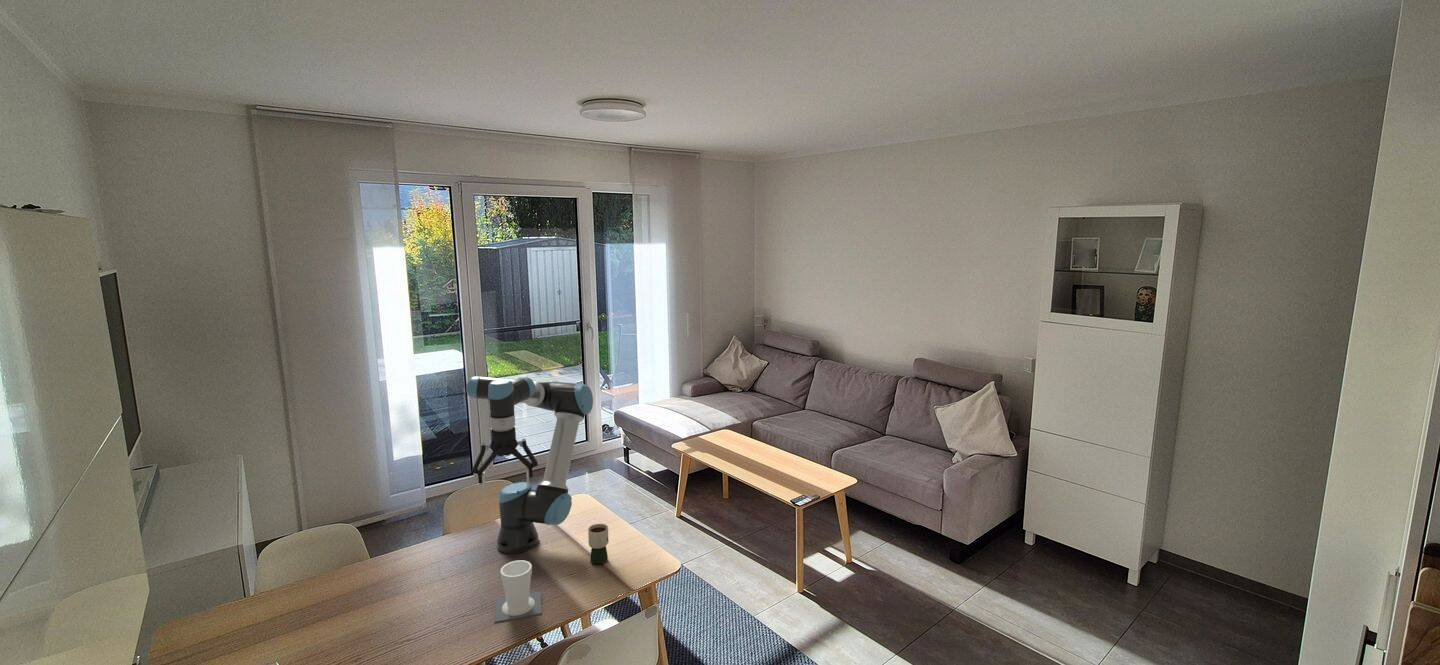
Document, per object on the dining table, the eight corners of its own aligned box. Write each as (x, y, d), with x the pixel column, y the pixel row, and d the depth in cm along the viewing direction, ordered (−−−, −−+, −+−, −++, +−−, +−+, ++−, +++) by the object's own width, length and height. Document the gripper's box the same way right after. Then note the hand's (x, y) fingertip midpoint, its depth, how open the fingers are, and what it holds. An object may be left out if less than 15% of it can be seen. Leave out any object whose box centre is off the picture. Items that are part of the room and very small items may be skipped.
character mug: (613, 565, 217) (612, 532, 215) (594, 571, 214) (593, 537, 212) (603, 551, 227) (602, 519, 224) (585, 556, 223) (584, 523, 221)
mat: (495, 599, 197) (495, 598, 197) (540, 592, 202) (540, 590, 202) (494, 622, 186) (494, 621, 186) (542, 613, 190) (541, 612, 190)
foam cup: (524, 616, 188) (521, 578, 186) (497, 612, 190) (494, 574, 188) (538, 598, 197) (537, 561, 195) (513, 594, 199) (510, 558, 197)
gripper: (460, 435, 188) (464, 499, 192) (543, 427, 196) (546, 489, 200) (462, 427, 195) (466, 489, 199) (542, 420, 203) (545, 480, 207)
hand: (506, 489), depth 199 cm, fingers open, 13 cm apart
